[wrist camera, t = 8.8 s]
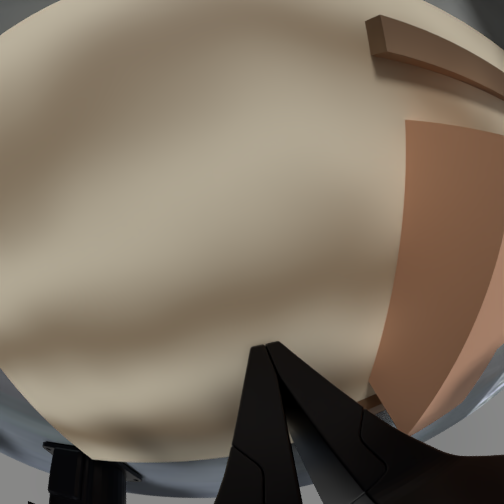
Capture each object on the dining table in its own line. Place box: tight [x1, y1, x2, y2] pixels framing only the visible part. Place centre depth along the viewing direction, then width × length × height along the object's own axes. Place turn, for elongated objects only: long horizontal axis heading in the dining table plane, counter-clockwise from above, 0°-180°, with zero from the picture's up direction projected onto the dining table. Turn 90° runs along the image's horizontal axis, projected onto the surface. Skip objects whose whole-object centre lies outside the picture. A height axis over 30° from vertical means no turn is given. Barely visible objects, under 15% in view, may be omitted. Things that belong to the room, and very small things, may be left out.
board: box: [0, 0, 504, 462], centre depth 9 cm, size 22×34×2 cm, turn 96°
